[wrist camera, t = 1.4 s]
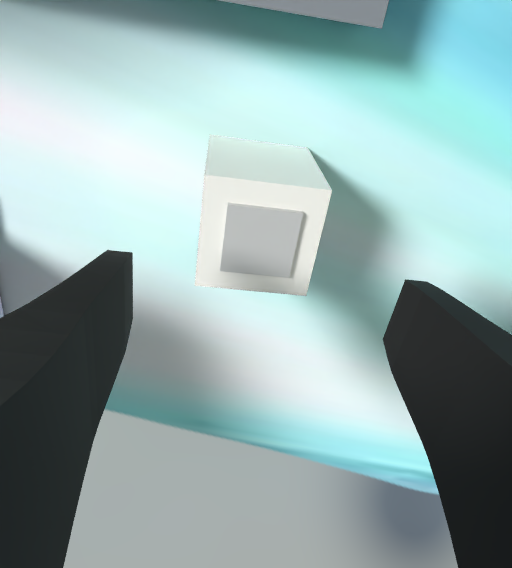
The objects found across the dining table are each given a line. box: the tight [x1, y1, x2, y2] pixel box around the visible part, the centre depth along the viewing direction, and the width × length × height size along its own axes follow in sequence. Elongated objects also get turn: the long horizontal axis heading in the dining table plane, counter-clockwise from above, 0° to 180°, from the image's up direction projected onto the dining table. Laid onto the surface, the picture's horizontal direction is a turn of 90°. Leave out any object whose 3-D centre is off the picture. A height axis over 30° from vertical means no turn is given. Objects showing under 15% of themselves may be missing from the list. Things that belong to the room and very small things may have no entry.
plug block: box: [195, 134, 332, 296], centre depth 17 cm, size 4×4×5 cm
